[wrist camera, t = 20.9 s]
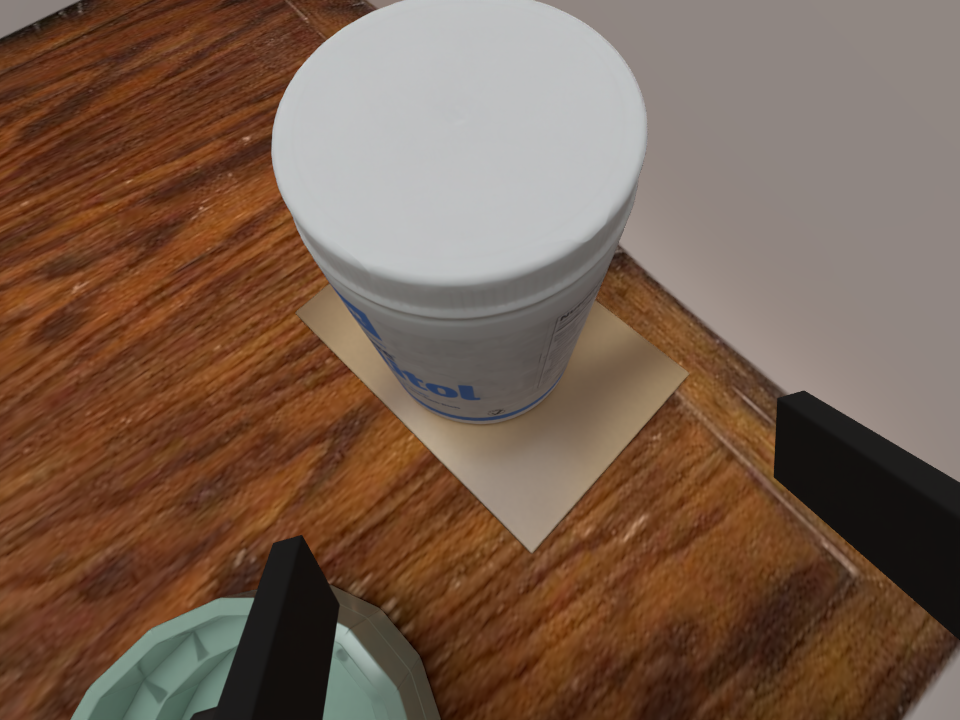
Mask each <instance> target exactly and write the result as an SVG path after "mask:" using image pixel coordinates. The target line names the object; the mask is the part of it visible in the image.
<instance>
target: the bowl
mask: <svg viewBox="0 0 960 720" xmlns="http://www.w3.org/2000/svg"><path fill="white" fill-rule="evenodd" d="M330 587H331V589H332V591H333V593H334V595H335V596H336V598H337V600H338V602H339V604H340V607H339V614H338V621H337V627H336V634H335V641H334V647H333V654H332V661H331V667H330V674H329V681H328V687H327V694H326V701H325V707H324V714H323V720H441V719H440V715H439V712H438V709H437V706H436V703H435V700H434V697H433V694H432V691H431V688H430V685H429V682H428V679H427V676H426V673H425V670H424V667H423V664H422V661H421V658H420V656H419V654H418V653H417V652H416V651H415V650H414V648H413V647H412V646H411V645H410V644H409V642H408V641H407V640H406V639H405V638H404V636H403V635H402V634H401V633H400V631H399V630H398V629H397V628H396V627H395V625H394V624H393V623H392V622H391V621H390V619H389V618H388V617H387V616H386V615H385V613H384V612H383V611H382V610H381V609H380V608H378V607H376V606H374V605H372V604H370V603H367V602H365V601H363V600H361V599H359V598H357V597H355V596H353V595H351V594H349V593H347V592H344V591H342V590H340V589H338V588H336V587H334V586H332V585H330ZM256 592H257V589H255V590H251V591H247V592H243V593H238V594H234V595H230V596H226V597H222V598H218V599H216V600H214V601H211V602H209V603H207V604H205V605H202V606H200V607H198V608H196V609H193V610H191V611H189V612H187V613H184V614H182V615H180V616H178V617H175V618H173V619H171V620H169V621H167V622H164V623H162V624H160V625H158V626H155V627H153V628H152V629H150V630H149V631H148V632H147V633H146V634H145V635H143V636H142V637H141V638H140V639H139V640H138V641H137V642H136V643H135V644H134V645H133V646H132V647H131V648H130V649H129V650H128V651H127V652H126V653H125V654H124V655H123V656H121V657H120V658H119V659H118V660H117V661H116V662H115V663H114V664H113V665H112V666H111V667H110V668H109V669H108V670H107V671H106V672H105V673H104V674H103V675H102V676H101V677H99V678H98V679H97V680H96V681H95V682H94V683H93V684H92V685H91V686H90V687H89V689H88V690H87V692H86V694H85V695H84V697H83V699H82V701H81V702H80V704H79V706H78V708H77V709H76V711H75V713H74V715H73V716H72V718H71V720H190V718H191V717H192V715H193V714H194V713H196V712H200V711H203V710H206V709H210V708H213V707H216V706H217V705H218V702H219V699H220V696H221V693H222V690H223V687H224V685H225V682H226V679H227V676H228V673H229V670H230V667H231V664H232V661H233V658H234V656H235V653H236V650H237V647H238V644H239V641H240V638H241V635H242V632H243V629H244V627H245V624H246V621H247V618H248V615H249V612H250V609H251V606H252V603H253V601H254V598H255V595H256Z"/></svg>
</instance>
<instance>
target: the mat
mask: <svg viewBox="0 0 960 720" xmlns="http://www.w3.org/2000/svg"><path fill="white" fill-rule="evenodd" d="M296 315H297V316H298V317H299V318H300V319H301V320H302V321H303V322H304V323H305V324H306V325H307V326H308V327H309V328H310V329H311V330H312V331H313V332H314V333H315V334H316V335H317V336H318V337H319V338H320V339H321V340H322V341H323V342H324V343H325V344H326V345H327V346H328V347H329V348H330V349H331V350H332V351H333V352H334V353H335V354H336V355H337V356H338V357H339V358H340V359H341V361H342V362H343V363H344V364H345V365H346V366H347V367H348V368H349V369H350V370H351V371H352V372H353V373H354V374H355V375H356V376H357V377H358V378H359V379H360V380H361V381H362V382H363V383H364V384H365V385H366V386H367V387H368V388H369V389H370V390H371V391H372V392H373V393H374V394H375V395H376V396H377V397H378V398H379V399H380V400H381V401H382V402H383V403H384V404H385V405H386V406H387V407H388V408H389V409H390V410H391V411H392V412H393V413H394V414H395V415H396V417H397V418H398V419H399V420H400V421H401V422H402V423H403V424H404V425H405V426H406V427H407V428H408V429H409V430H410V431H411V432H412V433H413V434H414V435H415V436H416V437H417V438H418V439H419V440H420V441H421V442H422V443H423V444H424V445H425V446H426V447H427V448H428V449H429V450H430V451H431V452H432V453H433V454H434V455H435V456H436V457H437V458H438V459H439V460H440V461H441V462H442V463H443V464H444V465H445V466H446V467H447V468H448V469H449V470H450V472H451V473H452V474H453V475H454V476H455V477H456V478H457V479H458V480H459V481H460V482H461V483H462V484H463V485H464V486H465V487H466V488H467V489H468V490H469V491H470V492H471V493H472V494H473V495H474V496H475V497H476V498H477V499H478V500H479V501H480V502H481V503H482V504H483V505H484V506H485V507H486V508H487V509H488V510H489V511H490V512H491V513H492V514H493V515H494V516H495V517H496V518H497V519H498V520H499V521H500V522H501V523H502V524H503V525H504V527H505V528H506V529H507V530H508V531H509V532H510V533H511V534H512V535H513V536H514V537H515V538H516V539H517V540H518V541H519V542H520V543H521V544H522V545H523V546H524V547H525V548H526V549H527V550H528V551H529V552H530V553H533V552H534V551H535V550H536V549H537V548H538V547H539V546H540V544H541V543H542V542H543V541H544V540H545V539H546V538H547V536H548V535H549V534H550V533H551V532H552V531H553V530H554V528H555V527H556V526H557V525H558V524H559V523H560V522H561V520H562V519H563V518H564V517H565V516H566V515H567V514H568V512H569V511H570V510H571V509H572V508H573V507H574V506H575V504H576V503H577V502H578V501H579V500H580V499H581V498H582V496H583V495H584V494H585V493H586V492H587V491H588V490H589V488H590V487H591V486H592V485H593V484H594V483H595V482H596V480H597V479H598V478H599V477H600V476H601V475H602V474H603V472H604V471H605V470H606V469H607V468H608V467H609V465H610V464H611V463H612V462H613V461H614V460H615V459H616V457H617V456H618V455H619V454H620V453H621V452H622V451H623V449H624V448H625V447H626V446H627V445H628V444H629V443H630V441H631V440H632V439H633V438H634V437H635V436H636V435H637V433H638V432H639V431H640V430H641V429H642V428H643V427H644V425H645V424H646V423H647V422H648V421H649V420H650V419H651V417H652V416H653V415H654V414H655V413H656V412H657V411H658V409H659V408H660V407H661V406H662V405H663V404H664V403H665V401H666V400H667V399H668V398H669V397H670V396H671V395H672V393H673V392H674V391H675V390H676V389H677V388H678V387H679V385H680V384H681V383H682V382H683V381H684V380H685V379H686V377H687V376H688V375H689V373H688V372H687V371H686V370H685V369H683V368H682V367H681V366H679V365H678V364H677V363H676V362H674V361H673V360H672V359H670V358H669V357H668V356H667V355H665V354H664V353H663V352H661V351H660V350H659V349H658V348H656V347H655V346H654V345H652V344H651V343H650V342H649V341H647V340H646V339H645V338H643V337H642V336H641V335H640V334H638V333H637V332H636V331H634V330H633V329H632V328H631V327H629V326H628V325H627V324H625V323H624V322H623V321H622V320H620V319H619V318H618V317H616V316H615V315H614V314H613V313H611V312H610V311H609V310H607V309H606V308H605V307H604V306H602V305H601V304H600V303H598V302H597V301H596V300H595V301H594V303H593V305H592V308H591V310H590V312H589V315H588V317H587V320H586V322H585V325H584V327H583V329H582V331H581V334H580V336H579V338H578V340H577V343H576V345H575V348H574V350H573V352H572V355H571V357H570V359H569V362H568V364H567V366H566V369H565V370H564V373H563V375H562V377H561V379H560V381H559V382H558V384H557V385H556V386H555V388H554V389H553V390H552V391H551V393H550V394H549V395H548V396H547V397H546V398H545V399H544V400H543V401H542V402H540V403H539V404H538V405H536V406H535V407H534V408H532V409H531V410H529V411H527V412H526V413H524V414H521V415H519V416H517V417H515V418H512V419H509V420H506V421H502V422H498V423H490V424H471V423H463V422H457V421H453V420H449V419H446V418H444V417H441V416H439V415H436V414H434V413H432V412H430V411H429V410H427V409H426V408H424V407H423V406H421V405H420V404H419V403H418V402H416V401H415V400H414V399H413V398H412V397H411V396H410V395H409V393H408V392H407V391H406V390H405V389H404V387H403V386H402V385H401V383H400V382H399V381H398V379H397V378H396V376H395V375H394V374H393V372H392V371H391V370H390V368H389V367H388V365H387V364H386V362H385V361H384V360H383V358H382V357H381V356H380V354H379V353H378V351H377V350H376V348H375V347H374V345H373V344H372V343H371V341H370V340H369V338H368V337H367V336H366V334H365V333H364V331H363V330H362V328H361V327H360V326H359V324H358V323H357V321H356V320H355V319H354V317H353V316H352V314H351V313H350V311H349V310H348V308H347V307H346V305H345V304H344V303H343V301H342V300H341V298H340V297H339V296H338V294H337V293H336V291H335V290H334V288H333V287H332V286H331V284H330V283H329V284H328V285H327V286H326V287H325V288H323V289H322V290H321V291H320V292H319V293H318V294H316V295H315V296H314V297H313V298H312V299H310V300H309V301H308V302H307V303H306V304H305V305H303V306H302V307H301V308H300V309H299V310H298V311H296Z"/></svg>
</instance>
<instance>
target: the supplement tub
mask: <svg viewBox="0 0 960 720" xmlns="http://www.w3.org/2000/svg"><path fill="white" fill-rule="evenodd" d="M647 133H648V131H647V115H646V108H645V104H644V100H643V96H642V94H641V92H640V89H639V86H638V83H637V81H636V79H635V77H634V75H633V73H632V72H631V70H630V68H629V66H628V65H627V63H626V62H625V61H624V59H623V58H622V57H621V55H620V54H619V53H618V52H617V50H616V49H615V48H614V47H613V46H612V45H611V44H610V43H609V42H608V41H607V40H606V39H605V38H603V37H602V36H601V35H600V34H599V33H597V32H596V31H595V30H594V29H592V28H591V27H590V26H588V25H586V24H585V23H584V22H582V21H580V20H579V19H577V18H575V17H573V16H572V15H570V14H567V13H565V12H563V11H561V10H559V9H557V8H554V7H552V6H549V5H547V4H544V3H540V2H537V1H534V0H404V1H400V2H397V3H394V4H392V5H389V6H386V7H384V8H381V9H379V10H376V11H374V12H371V13H369V14H367V15H365V16H363V17H362V18H360V19H358V20H356V21H354V22H353V23H351V24H349V25H347V26H346V27H344V28H343V29H341V30H340V31H339V32H337V33H336V34H335V35H333V36H332V37H331V38H329V39H328V40H327V41H325V42H324V43H323V44H322V45H321V46H320V47H319V48H318V49H317V50H316V51H315V52H314V53H313V54H312V55H311V56H310V57H309V58H308V59H307V60H306V62H305V63H304V64H303V65H302V66H301V68H300V69H299V70H298V71H297V73H296V74H295V76H294V77H293V79H292V81H291V82H290V84H289V85H288V87H287V89H286V91H285V93H284V95H283V98H282V100H281V102H280V104H279V107H278V111H277V114H276V117H275V121H274V126H273V133H272V162H273V168H274V172H275V176H276V180H277V184H278V188H279V190H280V192H281V195H282V197H283V200H284V201H285V203H286V205H287V207H288V209H289V211H290V212H291V214H292V216H293V218H294V222H295V224H296V227H297V230H298V232H299V234H300V236H301V238H302V240H303V242H304V244H305V246H306V247H307V249H308V250H309V252H310V253H311V255H312V257H313V258H314V260H315V262H316V263H317V264H318V266H319V267H320V269H321V270H322V272H323V273H324V275H325V277H326V278H327V280H328V281H329V283H330V284H331V286H332V287H333V288H334V290H335V291H336V293H337V294H338V296H339V297H340V298H341V300H342V301H343V303H344V304H345V305H346V307H347V308H348V310H349V311H350V313H351V314H352V316H353V317H354V319H355V320H356V321H357V323H358V324H359V326H360V327H361V328H362V330H363V331H364V333H365V334H366V336H367V337H368V338H369V340H370V341H371V343H372V344H373V345H374V347H375V348H376V350H377V351H378V353H379V354H380V356H381V357H382V358H383V360H384V361H385V362H386V364H387V365H388V367H389V368H390V370H391V371H392V372H393V374H394V375H395V376H396V378H397V379H398V381H399V382H400V383H401V385H402V386H403V387H404V389H405V390H406V391H407V392H408V393H409V395H410V396H411V397H412V398H413V399H414V400H415V401H416V402H418V403H419V404H420V405H421V406H423V407H424V408H426V409H427V410H429V411H430V412H432V413H434V414H436V415H439V416H441V417H444V418H446V419H449V420H453V421H457V422H463V423H471V424H490V423H498V422H502V421H506V420H509V419H512V418H515V417H517V416H519V415H521V414H524V413H526V412H527V411H529V410H531V409H532V408H534V407H535V406H536V405H538V404H539V403H540V402H542V401H543V400H544V399H545V398H546V397H547V396H548V395H549V394H550V393H551V391H552V390H553V389H554V388H555V386H556V385H557V384H558V382H559V381H560V379H561V377H562V375H563V373H564V370H565V369H566V366H567V364H568V362H569V359H570V357H571V355H572V352H573V350H574V348H575V345H576V343H577V340H578V338H579V336H580V334H581V331H582V329H583V327H584V325H585V322H586V320H587V317H588V315H589V312H590V310H591V308H592V305H593V303H594V301H595V298H596V296H597V294H598V291H599V289H600V286H601V284H602V282H603V279H604V277H605V274H606V272H607V270H608V267H609V265H610V262H611V260H612V258H613V255H614V253H615V250H616V248H617V245H618V243H619V240H620V237H621V235H622V233H623V231H624V228H625V225H626V223H627V220H628V218H629V215H630V213H631V210H632V207H633V204H634V200H635V196H636V191H637V187H638V178H639V175H640V172H641V169H642V166H643V162H644V158H645V154H646V147H647V139H648V134H647Z"/></svg>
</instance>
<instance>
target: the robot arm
mask: <svg viewBox="0 0 960 720" xmlns="http://www.w3.org/2000/svg"><path fill="white" fill-rule="evenodd" d="M774 478H775V479H776V480H778V481H779V482H780V483H781V484H782V485H783V486H784V487H786V488H787V489H788V490H789V491H790V492H791V493H792V494H794V495H795V496H796V497H797V498H798V499H799V500H800V501H802V502H803V503H804V504H805V505H806V506H807V507H808V508H810V509H811V510H812V511H813V512H814V513H815V514H816V515H817V516H819V517H820V518H821V519H822V520H823V521H824V522H825V523H827V524H828V525H829V526H830V527H831V528H832V529H833V530H835V531H836V532H837V533H838V534H839V535H840V536H841V537H843V538H844V539H845V540H846V541H847V542H848V543H849V544H851V545H852V546H853V547H854V548H855V549H856V550H857V551H859V552H860V553H861V554H862V555H863V556H864V557H865V558H867V559H868V560H869V561H870V562H871V563H872V564H873V565H874V566H876V567H877V568H878V569H879V570H880V571H881V572H882V573H884V574H885V575H886V576H887V577H888V578H889V579H890V580H892V581H893V582H894V583H895V584H896V585H897V586H898V587H900V588H901V589H902V590H903V591H904V592H905V593H906V594H908V595H909V596H910V597H911V598H912V599H913V600H914V601H916V602H917V603H918V604H919V605H920V606H921V607H922V608H924V609H925V610H926V611H927V612H928V613H929V614H930V615H931V616H933V617H934V618H935V619H936V620H937V621H938V622H939V623H941V624H942V625H943V626H944V627H945V628H946V629H947V630H949V631H950V632H951V633H952V634H953V635H954V636H955V637H957V638H958V639H959V640H960V482H958V481H956V480H955V479H953V478H951V477H949V476H948V475H946V474H944V473H943V472H941V471H939V470H938V469H936V468H934V467H933V466H931V465H929V464H927V463H926V462H924V461H922V460H921V459H919V458H917V457H916V456H914V455H912V454H911V453H909V452H907V451H905V450H904V449H902V448H900V447H899V446H897V445H895V444H894V443H892V442H890V441H889V440H887V439H885V438H884V437H882V436H880V435H878V434H877V433H875V432H873V431H872V430H870V429H868V428H867V427H865V426H863V425H862V424H860V423H858V422H857V421H855V420H853V419H851V418H850V417H848V416H846V415H845V414H843V413H841V412H840V411H838V410H836V409H835V408H833V407H831V406H830V405H828V404H826V403H824V402H823V401H821V400H819V399H818V398H816V397H814V396H813V395H811V394H809V393H808V392H806V391H801V392H797V393H794V394H790V395H787V396H783V397H780V398H777V418H776V439H775V461H774ZM339 607H340V604H339V602H338V600H337V598H336V596H335V595H334V593H333V591H332V589H331V587H330V585H329V584H328V582H327V580H326V578H325V576H324V574H323V572H322V571H321V569H320V567H319V565H318V563H317V561H316V560H315V558H314V556H313V554H312V552H311V550H310V549H309V547H308V545H307V543H306V541H305V539H304V538H303V536H302V535H300V536H297V537H293V538H290V539H286V540H283V541H279V542H276V543H273V545H272V548H271V551H270V554H269V557H268V560H267V563H266V566H265V569H264V572H263V574H262V577H261V580H260V583H259V586H258V589H257V592H256V595H255V598H254V601H253V603H252V606H251V609H250V612H249V615H248V618H247V621H246V624H245V627H244V629H243V632H242V635H241V638H240V641H239V644H238V647H237V650H236V653H235V656H234V658H233V661H232V664H231V667H230V670H229V673H228V676H227V679H226V682H225V685H224V687H223V690H222V693H221V696H220V699H219V702H218V705H217V706H216V707H213V708H210V709H206V710H203V711H200V712H196V713H194V714H193V715H192V717H191V718H190V720H323V714H324V707H325V701H326V694H327V687H328V681H329V674H330V667H331V661H332V654H333V647H334V641H335V634H336V627H337V621H338V614H339Z"/></svg>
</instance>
